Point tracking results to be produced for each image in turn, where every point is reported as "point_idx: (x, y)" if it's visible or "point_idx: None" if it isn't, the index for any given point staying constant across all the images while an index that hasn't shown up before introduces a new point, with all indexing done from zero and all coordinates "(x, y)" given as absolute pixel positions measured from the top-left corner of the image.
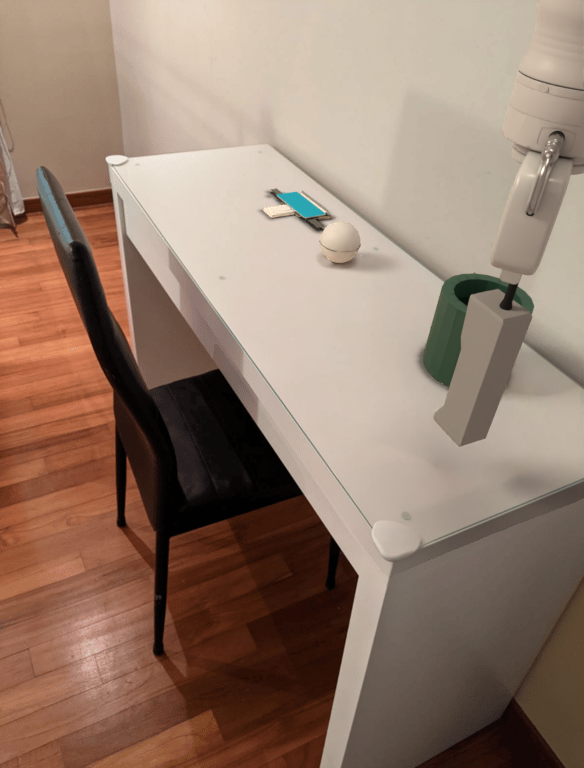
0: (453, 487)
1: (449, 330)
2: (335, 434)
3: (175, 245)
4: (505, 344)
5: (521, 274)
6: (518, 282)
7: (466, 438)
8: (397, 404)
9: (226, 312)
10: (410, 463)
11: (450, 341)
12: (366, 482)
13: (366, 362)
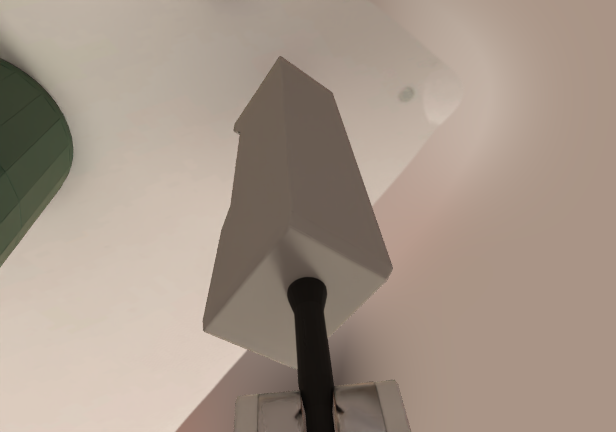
0: (313, 49)
1: (24, 226)
2: None
3: None
4: (346, 201)
5: (405, 416)
6: (397, 384)
7: (327, 93)
8: (186, 190)
9: (175, 422)
10: None
11: (35, 206)
12: (372, 164)
13: (126, 263)
